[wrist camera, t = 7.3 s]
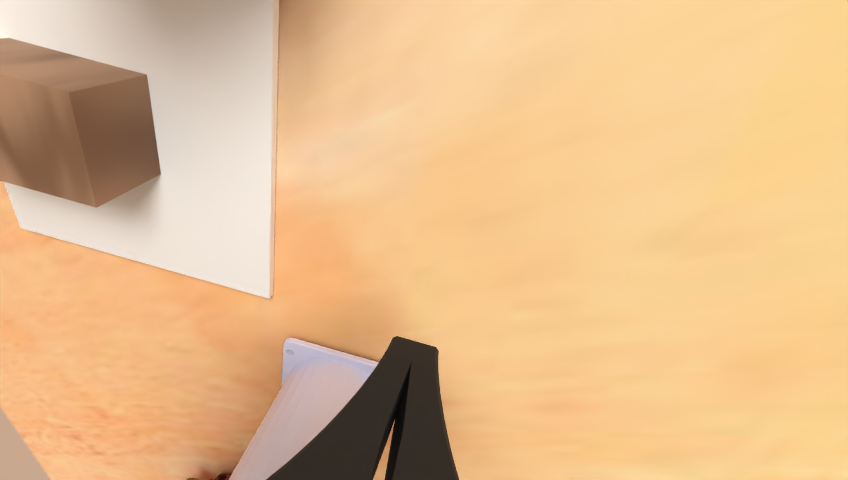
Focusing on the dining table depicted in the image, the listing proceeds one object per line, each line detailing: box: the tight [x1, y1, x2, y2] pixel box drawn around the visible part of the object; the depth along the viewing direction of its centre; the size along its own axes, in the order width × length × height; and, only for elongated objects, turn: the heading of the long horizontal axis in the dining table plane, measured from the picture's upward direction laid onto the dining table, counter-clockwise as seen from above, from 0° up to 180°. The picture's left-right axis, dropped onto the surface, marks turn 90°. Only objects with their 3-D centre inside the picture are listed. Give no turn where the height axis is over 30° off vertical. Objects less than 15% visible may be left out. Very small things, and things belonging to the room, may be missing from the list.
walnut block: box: [0, 36, 161, 208], centre depth 19 cm, size 5×4×8 cm
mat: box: [0, 0, 279, 299], centre depth 21 cm, size 18×16×1 cm
